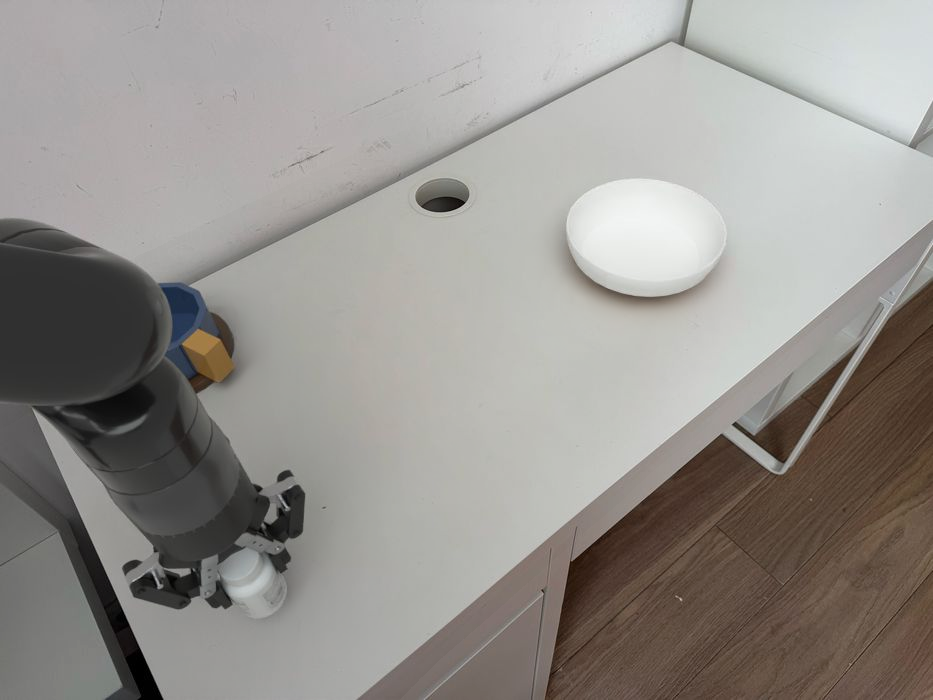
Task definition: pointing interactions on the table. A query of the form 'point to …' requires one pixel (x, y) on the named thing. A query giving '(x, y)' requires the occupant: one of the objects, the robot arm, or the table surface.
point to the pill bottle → (253, 583)
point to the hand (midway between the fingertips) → (252, 580)
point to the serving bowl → (194, 335)
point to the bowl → (645, 236)
